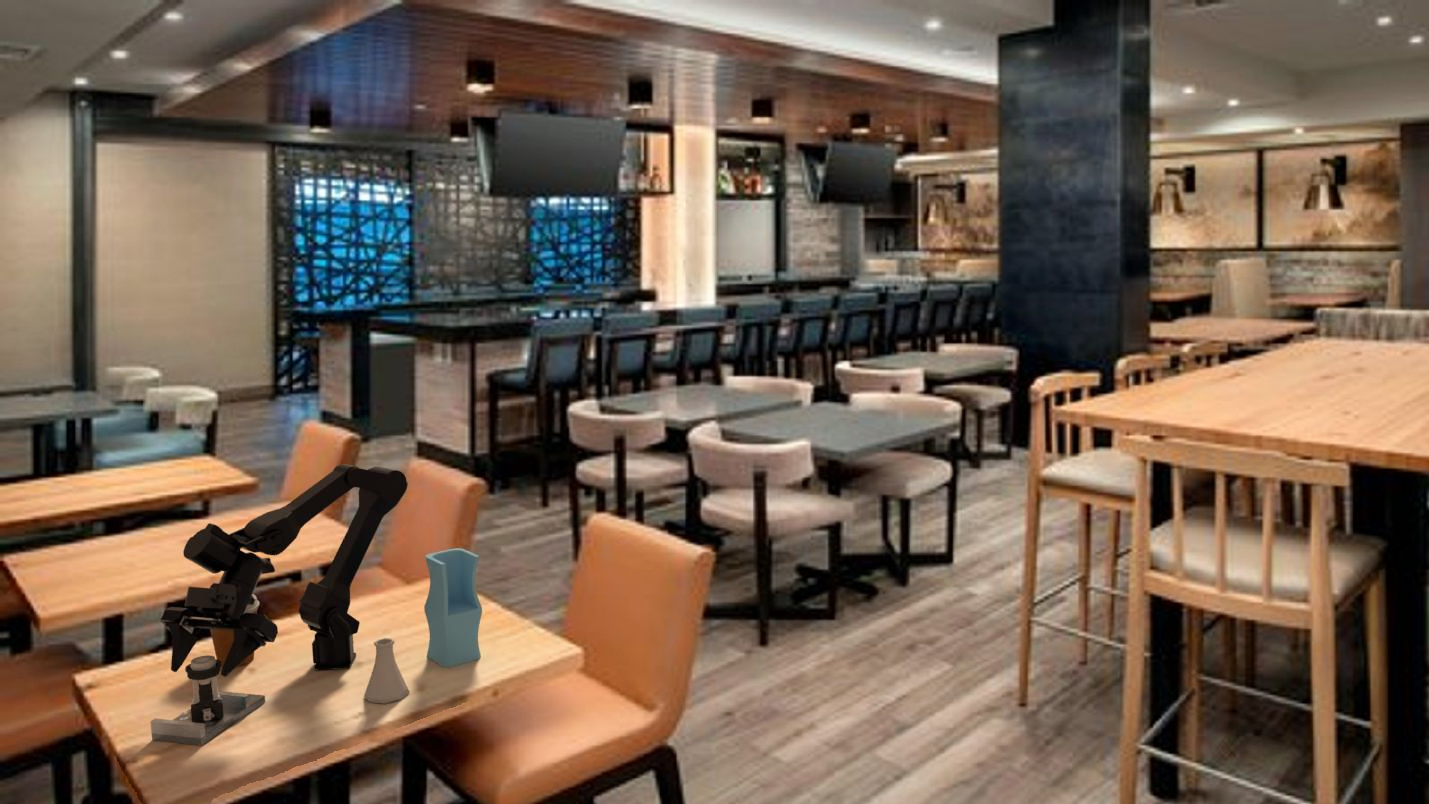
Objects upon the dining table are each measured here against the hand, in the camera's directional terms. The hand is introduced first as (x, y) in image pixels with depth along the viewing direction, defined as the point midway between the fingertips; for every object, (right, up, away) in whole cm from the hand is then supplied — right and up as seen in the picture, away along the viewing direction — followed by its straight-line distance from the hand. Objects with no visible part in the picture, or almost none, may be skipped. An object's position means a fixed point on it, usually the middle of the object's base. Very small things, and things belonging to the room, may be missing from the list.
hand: (198, 673), depth 169 cm
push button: (0, -8, +2) cm, 8 cm away
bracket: (0, -9, +4) cm, 9 cm away
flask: (+27, -7, +13) cm, 30 cm away
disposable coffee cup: (-7, -5, +28) cm, 29 cm away
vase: (+34, -5, +30) cm, 46 cm away
